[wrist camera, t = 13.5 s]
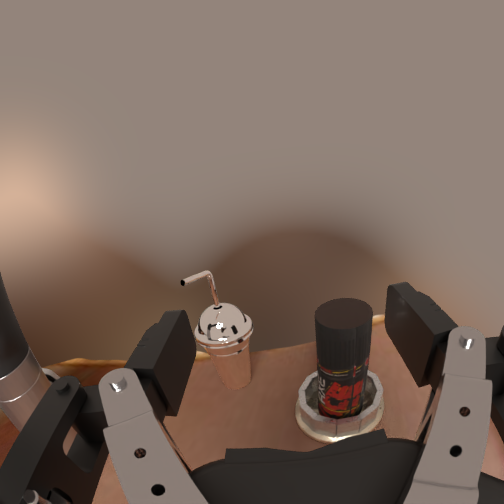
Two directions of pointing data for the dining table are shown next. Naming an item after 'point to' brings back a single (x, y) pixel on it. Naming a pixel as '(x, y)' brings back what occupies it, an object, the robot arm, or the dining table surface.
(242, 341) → the cup with straw
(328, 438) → the silver bowl
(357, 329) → the deodorant
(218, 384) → the dining table surface
